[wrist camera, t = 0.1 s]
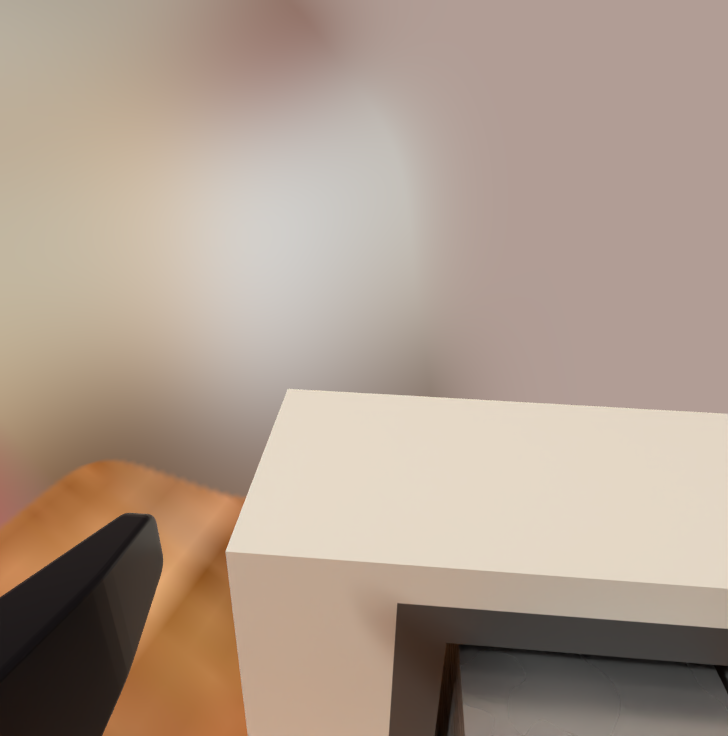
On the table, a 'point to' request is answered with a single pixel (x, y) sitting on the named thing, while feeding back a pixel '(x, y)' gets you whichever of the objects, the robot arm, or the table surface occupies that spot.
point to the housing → (467, 549)
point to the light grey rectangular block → (575, 695)
